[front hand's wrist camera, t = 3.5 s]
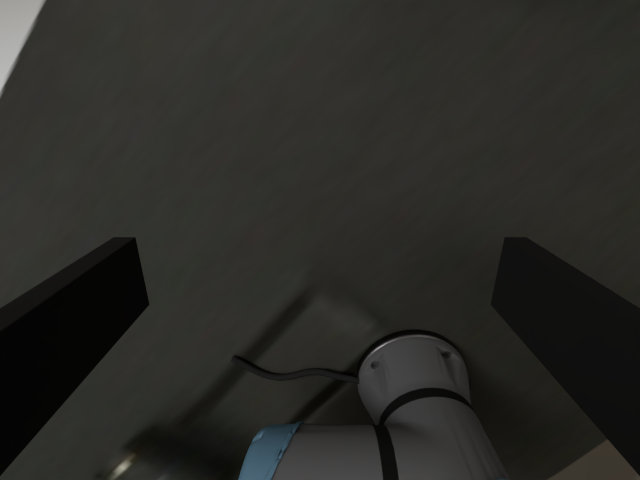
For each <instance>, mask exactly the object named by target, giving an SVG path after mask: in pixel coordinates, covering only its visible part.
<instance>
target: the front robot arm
mask: <svg viewBox="0 0 640 480" xmlns="http://www.w3.org/2000/svg"><path fill="white" fill-rule="evenodd" d="M148 305H149V301H148V296H147V291H146V286H145V282H144V277H143V272H142V267H141V262H140V258H139V253H138V248H137V243H136V239H135V237H114V238H112V239H110V240H109V241H107V242H106V243H104V244H102V245H101V246H99V247H98V248H96V249H94V250H93V251H91V252H90V253H88V254H86V255H85V256H83V257H82V258H80V259H78V260H77V261H75V262H74V263H72V264H70V265H69V266H67V267H66V268H64V269H62V270H61V271H59V272H58V273H56V274H54V275H53V276H51V277H50V278H48V279H47V280H45V281H43V282H42V283H40V284H39V285H37V286H35V287H34V288H32V289H31V290H29V291H27V292H26V293H24V294H23V295H21V296H19V297H18V298H16V299H15V300H13V301H11V302H10V303H8V304H7V305H5V306H3V307H2V308H0V476H1V474H2V473H3V472H4V471H5V470H6V469H7V467H8V466H9V465H10V464H11V463H12V462H13V461H14V459H15V458H16V457H17V456H18V455H19V454H20V453H21V451H22V450H23V449H24V448H25V447H26V446H27V445H28V443H29V442H30V441H31V440H32V439H33V438H34V436H35V435H36V434H37V433H38V432H39V431H40V430H41V428H42V427H43V426H44V425H45V424H46V423H47V422H48V420H49V419H50V418H51V417H52V416H53V415H54V413H55V412H56V411H57V410H58V409H59V408H60V407H61V405H62V404H63V403H64V402H65V401H66V400H67V399H68V397H69V396H70V395H71V394H72V393H73V392H74V390H75V389H76V388H77V387H78V386H79V385H80V384H81V382H82V381H83V380H84V379H85V378H86V377H87V376H88V374H89V373H90V372H91V371H92V370H93V369H94V367H95V366H96V365H97V364H98V363H99V362H100V361H101V359H102V358H103V357H104V356H105V355H106V354H107V353H108V351H109V350H110V349H111V348H112V347H113V346H114V345H115V343H116V342H117V341H118V340H119V339H120V338H121V336H122V335H123V334H124V333H125V332H126V331H127V330H128V328H129V327H130V326H131V325H132V324H133V323H134V322H135V320H136V319H137V318H138V317H139V316H140V315H141V313H142V312H143V311H144V310H145V309H146V308H147V307H148ZM491 305H492V307H493V308H494V309H495V310H496V311H497V312H498V313H499V315H500V316H501V317H502V318H503V319H504V320H505V322H506V323H507V324H508V325H509V326H510V327H511V328H512V330H513V331H514V332H515V333H516V334H517V335H518V336H519V338H520V339H521V340H522V341H523V342H524V343H525V345H526V346H527V347H528V348H529V349H530V350H531V351H532V353H533V354H534V355H535V356H536V357H537V358H538V359H539V361H540V362H541V363H542V364H543V365H544V366H545V367H546V369H547V370H548V371H549V372H550V373H551V374H552V376H553V377H554V378H555V379H556V380H557V381H558V382H559V384H560V385H561V386H562V387H563V388H564V389H565V390H566V392H567V393H568V394H569V395H570V396H571V397H572V399H573V400H574V401H575V402H576V403H577V404H578V405H579V407H580V408H581V409H582V410H583V411H584V412H585V413H586V415H587V416H588V417H589V418H590V419H591V420H592V422H593V423H594V424H595V425H596V426H597V427H598V428H599V430H600V431H601V432H602V433H603V434H604V435H605V436H606V438H607V439H608V440H609V441H610V442H611V443H612V444H613V446H614V447H615V448H616V449H617V450H618V451H619V453H620V454H621V455H622V456H623V457H624V458H625V459H626V461H627V462H628V463H629V464H630V465H631V466H632V467H633V469H634V470H635V471H636V472H637V473H638V474H639V476H640V308H638V307H637V306H635V305H633V304H632V303H630V302H629V301H627V300H625V299H624V298H622V297H621V296H619V295H617V294H616V293H614V292H613V291H611V290H609V289H608V288H606V287H605V286H603V285H601V284H600V283H598V282H597V281H595V280H593V279H592V278H590V277H589V276H587V275H586V274H584V273H582V272H581V271H579V270H578V269H576V268H574V267H573V266H571V265H570V264H568V263H566V262H565V261H563V260H562V259H560V258H558V257H557V256H555V255H554V254H552V253H550V252H549V251H547V250H546V249H544V248H542V247H541V246H539V245H538V244H536V243H534V242H533V241H531V240H530V239H528V238H526V237H505V239H504V243H503V248H502V253H501V258H500V262H499V267H498V272H497V277H496V282H495V286H494V291H493V296H492V301H491ZM231 362H233V363H236V364H238V365H239V366H241V367H243V368H245V369H247V370H248V371H250V372H252V373H254V374H256V375H258V376H261V377H263V378H267V379H271V380H279V381H283V380H291V379H295V378H299V377H303V376H308V375H322V376H327V377H330V378H334V379H337V380H342V381H347V382H352V383H357V386H358V391H359V395H360V397H361V400H362V402H363V404H364V406H365V407H366V409H367V411H368V413H369V414H370V416H371V418H372V419H373V421H374V423H375V424H376V425H349V424H304V422H301V421H300V422H297V423H296V424H279V425H269V426H266V427H264V428H263V429H262V430H260V431H259V432H258V433H257V435H256V436H255V438H254V439H253V441H252V443H251V445H250V447H249V450H248V452H247V455H246V457H245V460H244V463H243V466H242V469H241V473H240V476H239V480H510V478H509V477H508V475H507V473H506V471H505V469H504V467H503V465H502V463H501V461H500V459H499V458H498V456H497V454H496V452H495V450H494V448H493V446H492V444H491V442H490V440H489V438H488V437H487V435H486V433H485V431H484V429H483V427H482V425H481V423H480V421H479V419H478V418H477V416H476V414H475V412H474V410H473V408H472V406H471V399H470V389H471V381H468V373H467V369H466V366H465V363H464V361H463V359H462V357H461V355H460V354H459V352H458V350H457V349H456V347H455V346H454V345H453V344H452V343H451V342H450V341H448V340H447V339H446V338H444V337H442V336H440V335H438V334H435V333H432V332H428V331H423V330H407V331H400V332H396V333H393V334H390V335H388V336H386V337H384V338H382V339H380V340H378V341H377V342H376V343H374V344H373V345H372V346H371V347H370V348H369V349H368V350H367V351H366V352H365V353H364V355H363V356H362V358H361V360H360V362H359V365H358V368H357V377H354V376H349V375H344V374H339V373H335V372H332V371H328V370H324V369H307V370H302V371H298V372H294V373H290V374H272V373H268V372H265V371H262V370H260V369H258V368H256V367H254V366H252V365H251V364H249V363H247V362H245V361H243V360H241V359H240V358H237V357H235V356H233V358H232V360H231Z"/></svg>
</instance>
